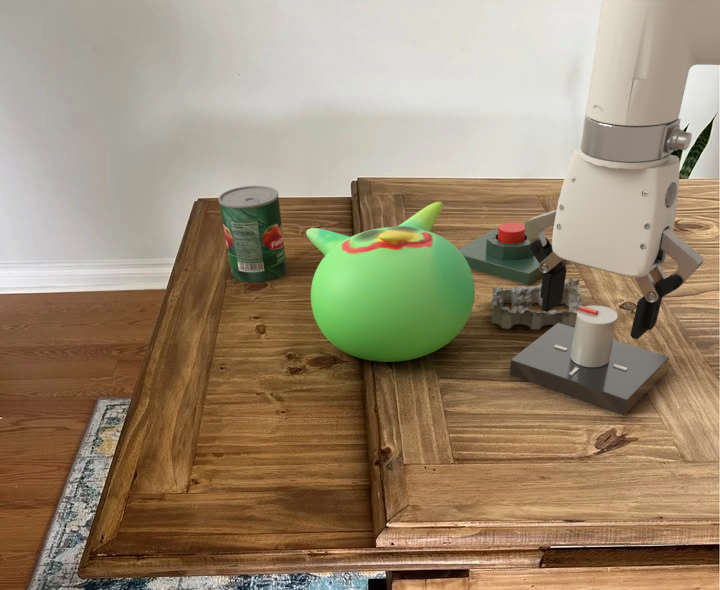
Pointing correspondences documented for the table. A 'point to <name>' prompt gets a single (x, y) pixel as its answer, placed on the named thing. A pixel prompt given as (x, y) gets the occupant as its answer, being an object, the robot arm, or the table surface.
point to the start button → (511, 232)
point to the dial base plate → (590, 371)
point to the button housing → (502, 258)
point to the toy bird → (391, 289)
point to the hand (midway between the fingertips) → (594, 319)
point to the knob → (593, 335)
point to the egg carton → (523, 302)
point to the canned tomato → (253, 233)
